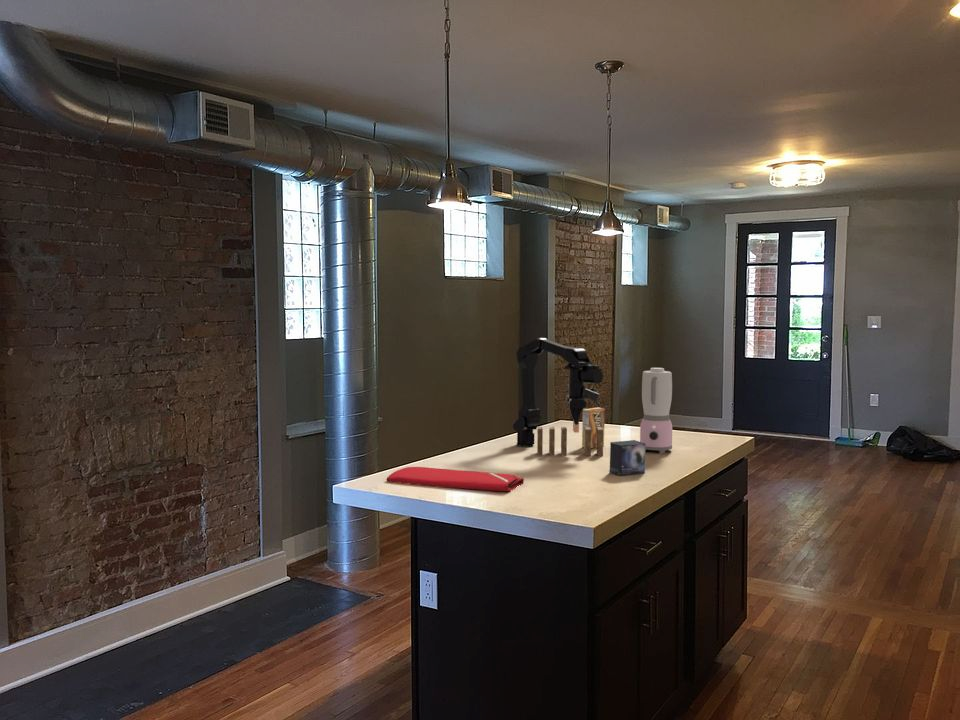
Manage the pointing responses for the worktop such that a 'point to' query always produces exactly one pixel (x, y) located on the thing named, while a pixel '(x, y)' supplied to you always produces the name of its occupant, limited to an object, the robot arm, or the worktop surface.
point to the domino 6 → (599, 441)
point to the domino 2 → (551, 440)
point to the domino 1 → (539, 440)
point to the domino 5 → (587, 441)
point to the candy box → (593, 424)
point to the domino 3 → (563, 440)
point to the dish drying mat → (456, 478)
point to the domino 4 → (575, 427)
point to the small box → (627, 457)
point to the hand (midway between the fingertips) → (575, 423)
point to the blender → (656, 410)
